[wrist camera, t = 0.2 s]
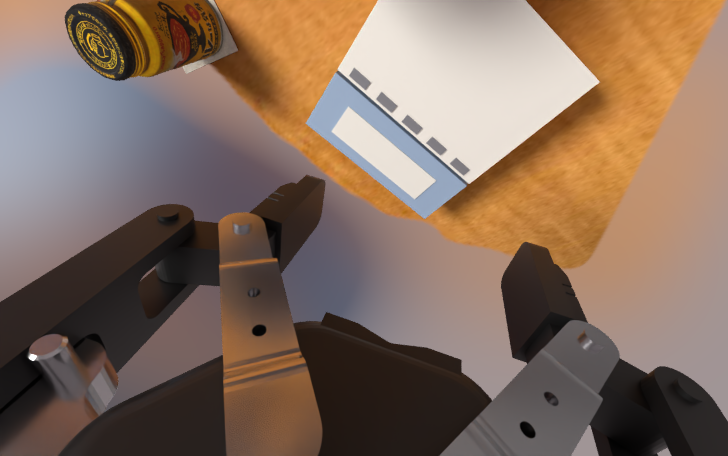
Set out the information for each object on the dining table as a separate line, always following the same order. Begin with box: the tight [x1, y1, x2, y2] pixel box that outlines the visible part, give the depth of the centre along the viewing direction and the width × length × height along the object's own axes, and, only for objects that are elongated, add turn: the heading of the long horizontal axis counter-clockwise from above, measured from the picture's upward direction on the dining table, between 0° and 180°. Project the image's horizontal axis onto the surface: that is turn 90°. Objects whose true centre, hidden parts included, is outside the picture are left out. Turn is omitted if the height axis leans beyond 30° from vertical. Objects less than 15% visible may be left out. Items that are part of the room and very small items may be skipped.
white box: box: [337, 0, 600, 184], centre depth 26 cm, size 12×16×5 cm
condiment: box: [65, 0, 238, 81], centre depth 28 cm, size 7×8×12 cm
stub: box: [306, 71, 467, 219], centre depth 32 cm, size 6×16×5 cm, turn 55°
